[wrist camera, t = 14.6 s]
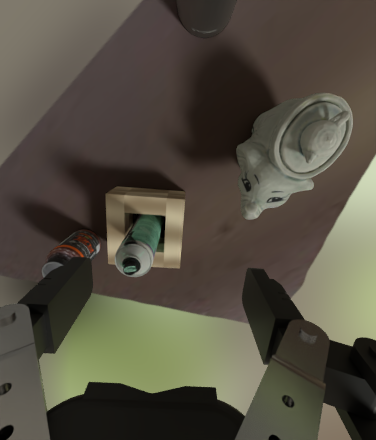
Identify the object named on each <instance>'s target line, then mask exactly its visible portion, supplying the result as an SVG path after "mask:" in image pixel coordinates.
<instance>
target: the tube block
mask: <svg viewBox="0 0 376 440" xmlns="http://www.w3.org/2000/svg"><path fill="white" fill-rule="evenodd" d="M105 195H106V219H107V243H108V264H115V255H116V252H117V249H118V248H119V246H120V245H121V243H122V241H123V240H124V238H125V237H126V235H127V233H128V232H129V230H130V229H131V227H132V226H133V213H135V214H149V215H163V216H166V223H165V238H159V241H158V245H157V249H156V252H155V256H154V260H153V264H152V266H151V267H166V268H180V259H181V246H182V233H183V219H184V206H185V191H172V190H159V189H145V188H132V187H119V186H117V187H115V188H114V189H112V190H111V191H109V192H107V193H106V194H105Z"/></svg>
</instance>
